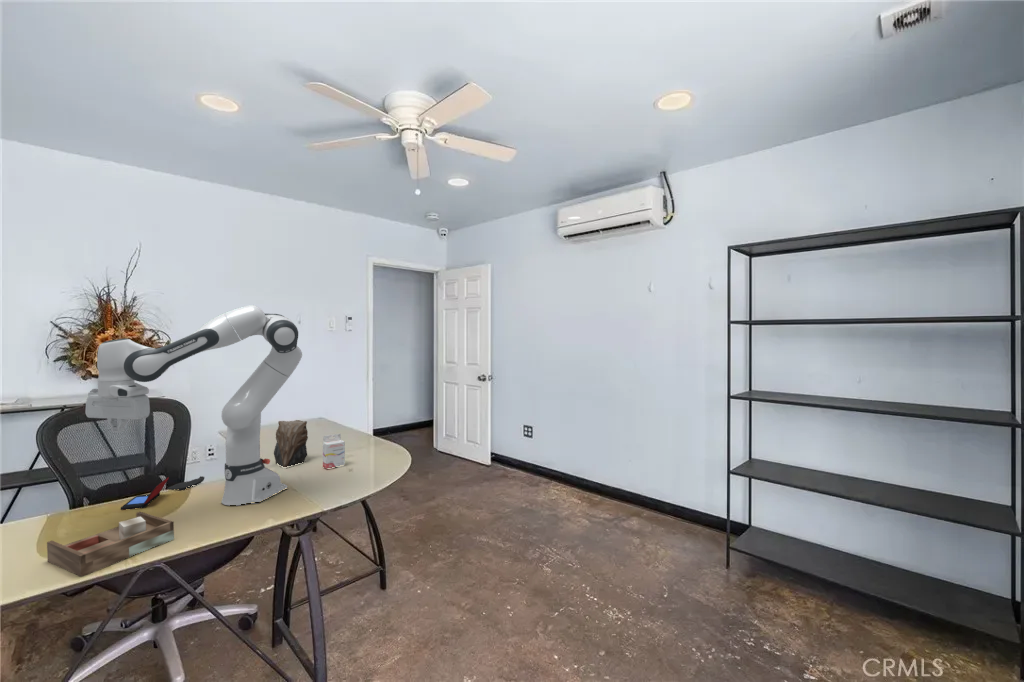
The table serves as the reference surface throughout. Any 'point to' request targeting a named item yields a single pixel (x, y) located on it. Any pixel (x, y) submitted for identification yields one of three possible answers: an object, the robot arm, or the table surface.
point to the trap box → (109, 546)
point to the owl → (291, 442)
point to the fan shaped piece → (186, 484)
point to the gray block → (131, 527)
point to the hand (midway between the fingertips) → (117, 432)
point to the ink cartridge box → (333, 451)
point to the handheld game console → (145, 497)
